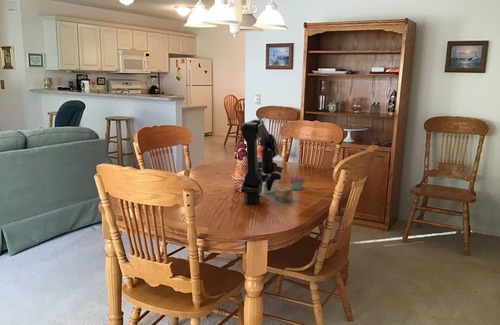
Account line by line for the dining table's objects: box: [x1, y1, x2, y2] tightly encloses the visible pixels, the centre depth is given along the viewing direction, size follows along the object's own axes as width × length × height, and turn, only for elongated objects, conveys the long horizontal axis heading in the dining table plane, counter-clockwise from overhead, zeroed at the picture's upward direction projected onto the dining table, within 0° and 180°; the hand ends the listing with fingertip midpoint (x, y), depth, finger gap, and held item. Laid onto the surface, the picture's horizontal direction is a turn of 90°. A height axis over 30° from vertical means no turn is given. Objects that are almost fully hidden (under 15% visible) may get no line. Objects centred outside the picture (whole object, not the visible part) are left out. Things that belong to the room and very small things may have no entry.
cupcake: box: [288, 168, 306, 191], centre depth 229 cm, size 9×8×12 cm
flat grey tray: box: [259, 182, 300, 206], centre depth 211 cm, size 11×25×6 cm, turn 27°
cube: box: [274, 186, 294, 203], centre depth 204 cm, size 6×6×6 cm
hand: (266, 189), depth 219 cm, fingers open, 5 cm apart
